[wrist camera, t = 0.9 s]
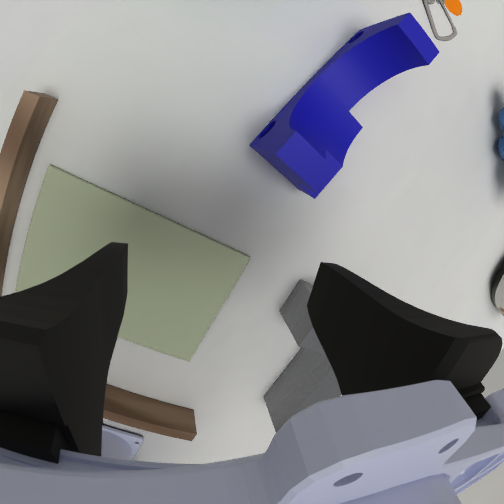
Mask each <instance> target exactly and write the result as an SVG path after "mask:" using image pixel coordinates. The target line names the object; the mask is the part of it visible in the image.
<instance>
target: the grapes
mask: <svg viewBox="0 0 504 504" xmlns="http://www.w3.org/2000/svg"><path fill="white" fill-rule="evenodd" d="M498 120H499V124H500V127H501V128H502V130H503V131H504V108H503V109H502V110H500V112H499V115H498ZM498 150H499V155H500V156H501V158H502V159H503V160H504V136H503V137H502V138H501V139H499V141H498Z"/></svg>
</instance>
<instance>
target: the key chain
mask: <svg viewBox="0 0 504 504" xmlns="http://www.w3.org/2000/svg"><path fill="white" fill-rule="evenodd" d="M436 1H437V3H438V0H436ZM423 2H424V5H425V8H426V11H427V14H428V18H429V21H430V24H431V27H432V31H433V33H434V35H435V38H437V39H438V40H442V41H448V40H451V39H453V38H454V37H455V36H456V35H457V31H456V28H455V27H454V25H453V23H452V21H451V18H450V16H449V14H448V12H447V10H446V8H445V6H444V4H445V5H446V7H447V8H448V10H449V11H450V12H451V13H453V14H454V15H457V16H458V15H461V13H462V6H461V3H460V1H459V0H443V1H442V0H439V2H440V3H441V5H442V7H443V8H444V10H445V12H446V14H447V16H448V18H449V21H450V23H451V25H452V29H453V34H451V35H450V36H446V37H440V36H439V35H438V33H437V31H436V28H435V25H434V22H433V19H432V15H431V12H430V9H429V6H428V3H429V4H433V3H434V2H435V0H431V1H430V0H423ZM438 4H439V3H438Z"/></svg>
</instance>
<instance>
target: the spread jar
mask: <svg viewBox="0 0 504 504" xmlns="http://www.w3.org/2000/svg"><path fill="white" fill-rule="evenodd" d="M491 296H492V301H493V303H494V304H495V306H496V307H497V309H498V310H499V311H500V312H501V313H502V314H503V315H504V262H503V264H502V265H501V267H500V268H499V270H498V272H497V274H496V277H495V279H494V282H493V286H492V293H491Z"/></svg>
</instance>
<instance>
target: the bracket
mask: <svg viewBox="0 0 504 504" xmlns="http://www.w3.org/2000/svg"><path fill="white" fill-rule="evenodd" d="M312 288H313V285H311V284H309V283H307V282H304V281H302V280H300V281H299V282H298V284H297V285H296V287H295V288H294V290H293V291H292V293H291V295H290V296H289V298H288V299H287V301H286V302H285V304H284V305H283V307H282V308H281V310H280V313H281V315H282V316H283V318H284V320H285V322H286V324H287V326H288V328H289V329H290V331H291V333H292V335H293V337H294V339H295V341H296V342H297V344H298V346H299V347H302V348H301V349H300V350H299V352H298V353H297V354H296V356H295V357H294V358H293V360H292V361H291V362H290V364H289V365H288V366H287V367H286V369H285V370H284V371H283V373H282V374H281V375H280V376H279V378H278V379H277V380H276V382H275V383H274V384H273V385H272V387H271V388H270V389H269V390H268V392H267V393H266V394H265V395H264V396H263V397H264V400H265V402H266V405H267V408H268V411H269V414H270V417H271V420H272V422H273V425H274V428H275V431H276V432H278V431H279V430H280V428H281V427H282V426H283V425H284V424H285V423H286V422H287V421H288V420H289V419H290V418H291V417H292V416H293V415H295V414H296V413H298V412H300V411H302V410H304V409H306V408H308V407H310V406H311V405H313V404H315V403H317V402H320V401H324V400H328V399H332V398H335V397H339V396H340V395H341V391H340V388H339V385H338V381H337V378H336V376H335V373H334V371H333V369H332V366H331V364H330V362H329V360H328V358H327V356H326V354H325V352H324V350H323V348H322V346H321V344H320V341H319V339H318V337H317V335H316V333H315V331H314V328H313V326H312V323H311V320H310V317H309V313H308V309H307V303H308V300H309V297H310V294H311V291H312Z"/></svg>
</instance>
